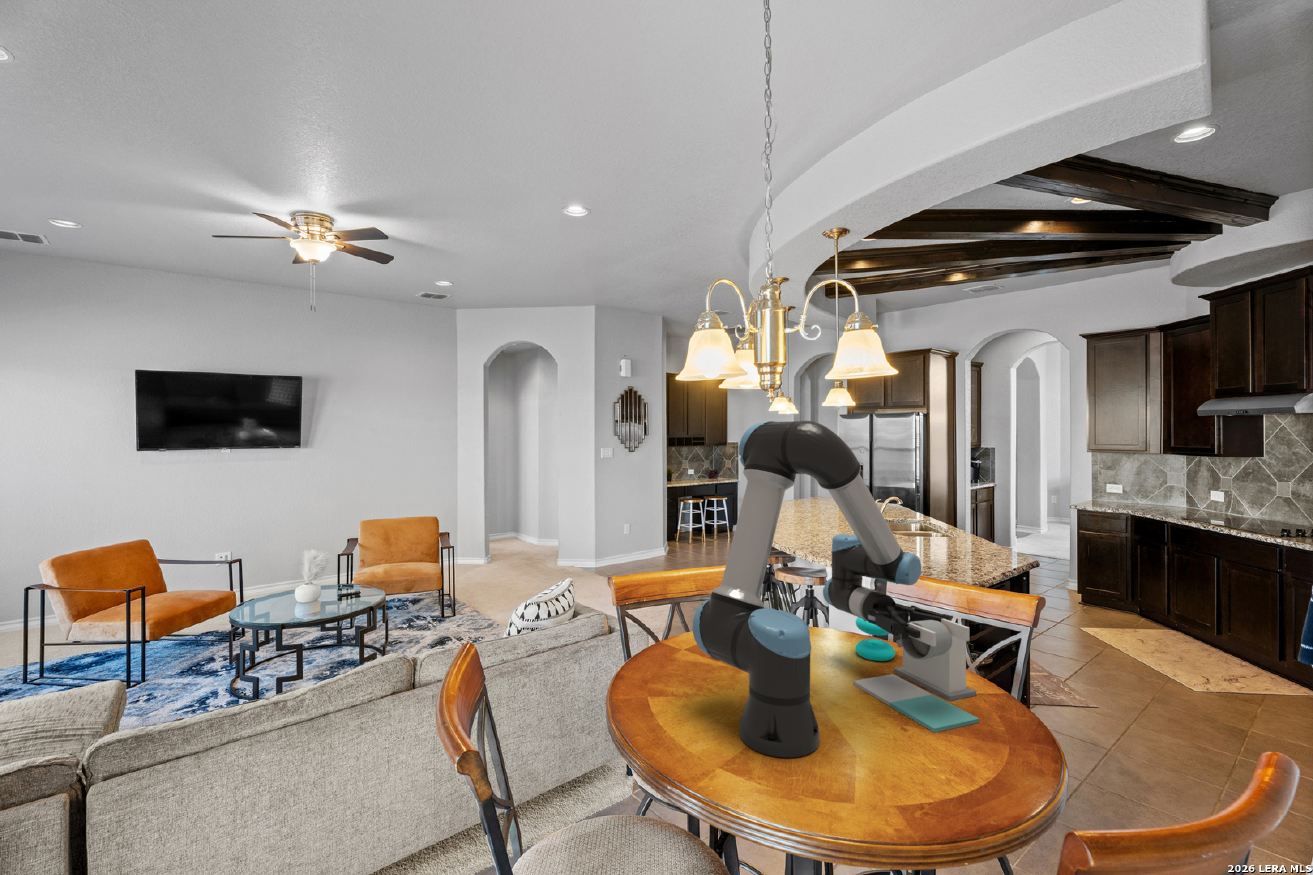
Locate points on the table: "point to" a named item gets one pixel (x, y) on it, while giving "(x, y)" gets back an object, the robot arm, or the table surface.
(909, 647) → the ceramic mug
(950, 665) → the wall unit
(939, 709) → the mat
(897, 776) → the table surface
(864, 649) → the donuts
